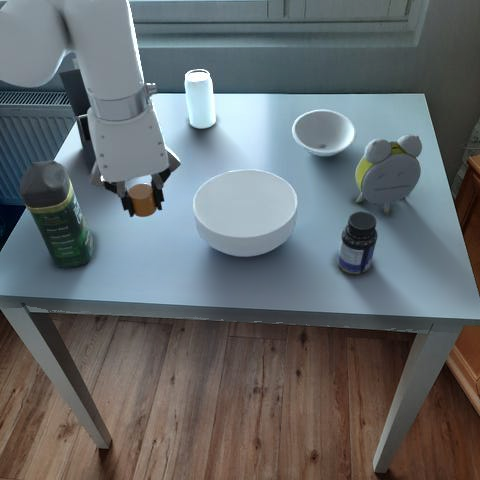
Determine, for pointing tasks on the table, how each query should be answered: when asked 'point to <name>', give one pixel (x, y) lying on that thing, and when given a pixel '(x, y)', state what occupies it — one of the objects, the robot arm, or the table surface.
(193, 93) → the can
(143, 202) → the cylinder
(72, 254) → the coffee jar
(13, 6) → the robot arm
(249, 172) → the bowl
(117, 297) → the table surface
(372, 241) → the pill bottle
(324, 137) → the dish
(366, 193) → the alarm clock
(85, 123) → the open grey storage bin
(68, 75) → the lid
